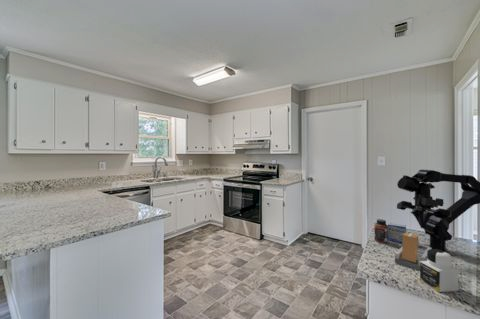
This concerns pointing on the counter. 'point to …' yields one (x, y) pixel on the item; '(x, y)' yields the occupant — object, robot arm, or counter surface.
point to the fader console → (421, 257)
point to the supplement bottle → (381, 231)
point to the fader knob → (410, 247)
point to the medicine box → (396, 232)
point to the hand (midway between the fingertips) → (422, 228)
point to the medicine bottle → (439, 271)
